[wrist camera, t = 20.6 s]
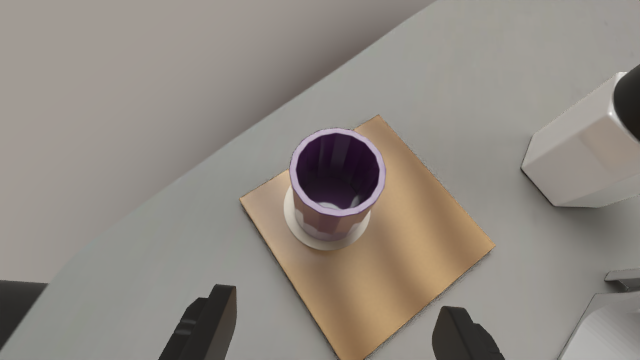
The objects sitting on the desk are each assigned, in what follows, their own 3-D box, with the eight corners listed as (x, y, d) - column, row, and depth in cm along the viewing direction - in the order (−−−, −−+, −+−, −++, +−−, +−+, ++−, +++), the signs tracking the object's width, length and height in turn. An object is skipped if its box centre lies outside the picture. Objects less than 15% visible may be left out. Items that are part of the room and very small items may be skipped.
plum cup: (320, 256, 24) (327, 236, 17) (280, 198, 26) (271, 157, 19) (376, 215, 26) (405, 181, 18) (336, 163, 28) (347, 113, 20)
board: (346, 369, 22) (348, 373, 21) (240, 201, 27) (237, 197, 26) (489, 247, 26) (497, 245, 25) (376, 119, 31) (379, 112, 30)
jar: (626, 188, 29) (822, 120, 18) (569, 228, 27) (748, 178, 16) (559, 120, 32) (694, 23, 21) (503, 151, 30) (618, 64, 19)
